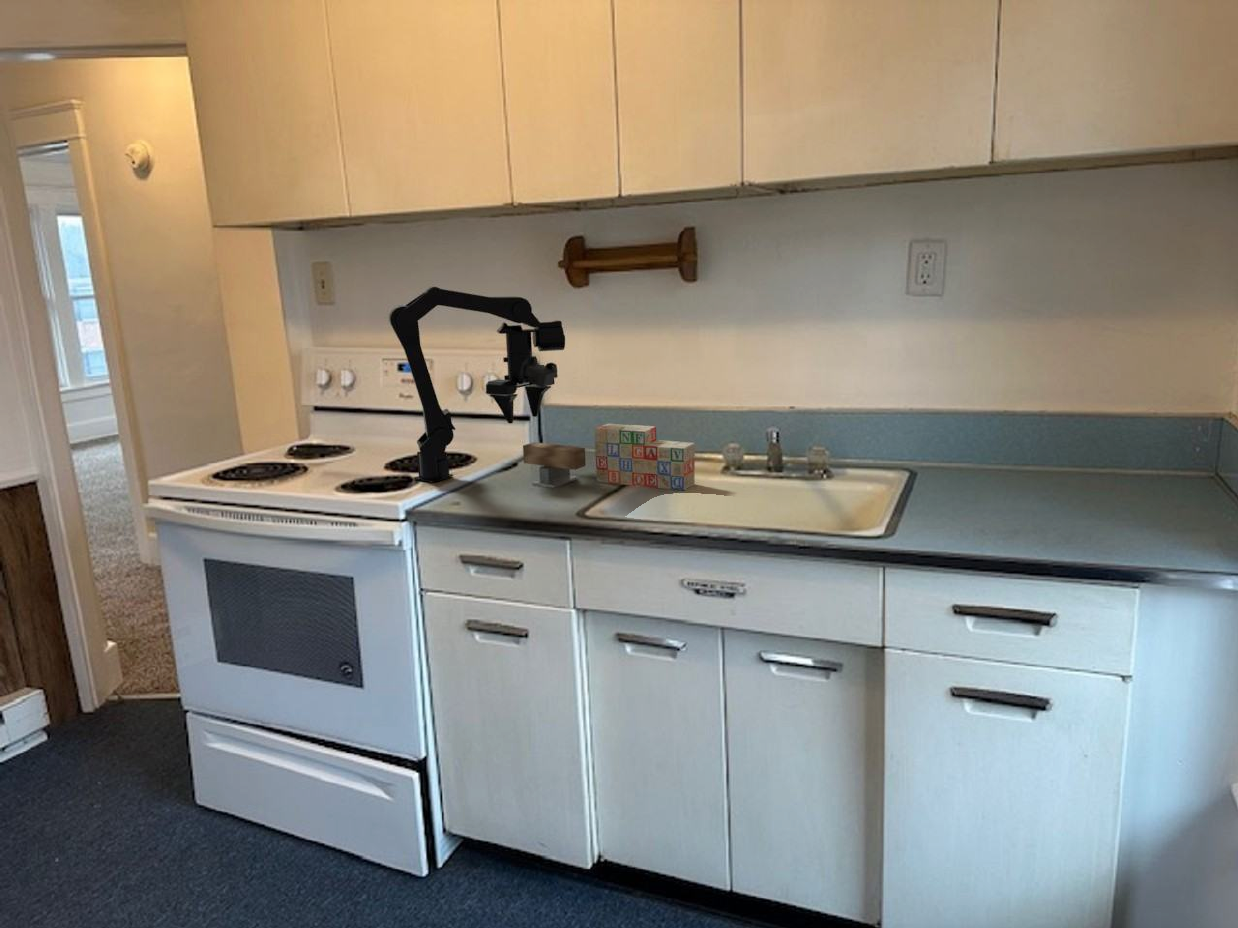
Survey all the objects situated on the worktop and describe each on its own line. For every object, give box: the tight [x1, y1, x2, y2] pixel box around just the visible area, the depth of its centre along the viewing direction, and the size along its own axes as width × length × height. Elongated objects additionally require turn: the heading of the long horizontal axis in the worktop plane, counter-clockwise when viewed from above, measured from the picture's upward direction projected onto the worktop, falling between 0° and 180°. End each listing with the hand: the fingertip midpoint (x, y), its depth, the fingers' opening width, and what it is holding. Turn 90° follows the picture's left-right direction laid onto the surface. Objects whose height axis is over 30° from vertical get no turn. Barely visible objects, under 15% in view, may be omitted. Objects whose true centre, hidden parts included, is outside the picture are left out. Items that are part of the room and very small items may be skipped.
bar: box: [522, 441, 587, 471], centre depth 191 cm, size 14×4×4 cm, turn 58°
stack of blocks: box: [593, 423, 696, 491], centre depth 189 cm, size 21×6×12 cm, turn 62°
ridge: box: [531, 466, 579, 489], centre depth 192 cm, size 6×9×4 cm, turn 148°
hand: (522, 419), depth 201 cm, fingers open, 9 cm apart
